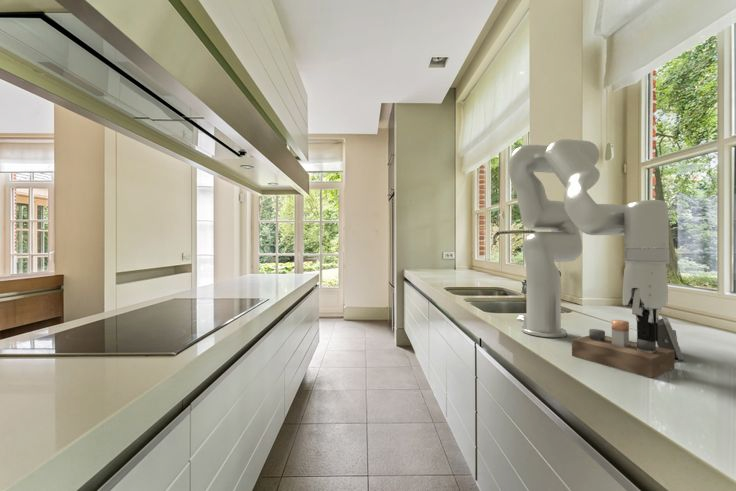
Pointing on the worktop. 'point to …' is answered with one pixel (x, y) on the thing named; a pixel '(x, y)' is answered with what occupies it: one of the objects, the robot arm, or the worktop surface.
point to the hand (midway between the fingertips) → (647, 339)
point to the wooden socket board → (624, 356)
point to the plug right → (646, 346)
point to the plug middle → (620, 333)
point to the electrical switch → (668, 337)
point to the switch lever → (597, 335)
